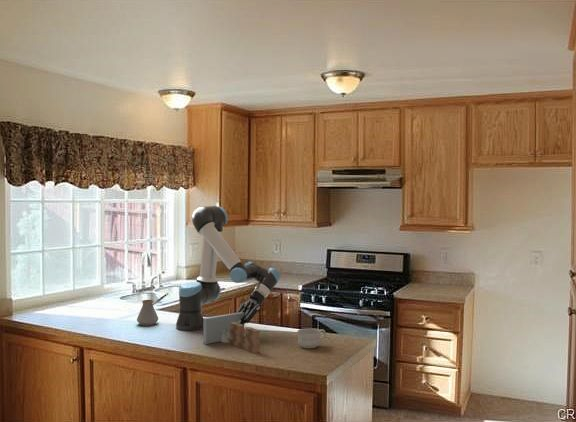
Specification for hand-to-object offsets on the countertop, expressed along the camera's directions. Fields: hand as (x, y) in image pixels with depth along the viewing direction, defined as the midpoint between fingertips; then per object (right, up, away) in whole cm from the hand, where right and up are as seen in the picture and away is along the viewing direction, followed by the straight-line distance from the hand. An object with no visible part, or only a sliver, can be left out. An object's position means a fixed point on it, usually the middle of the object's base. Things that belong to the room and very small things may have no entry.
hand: (232, 331), depth 271 cm
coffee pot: (-46, -2, +33) cm, 57 cm away
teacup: (+39, -4, -13) cm, 41 cm away
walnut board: (+7, -4, -16) cm, 18 cm away
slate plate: (-4, -3, -3) cm, 6 cm away
